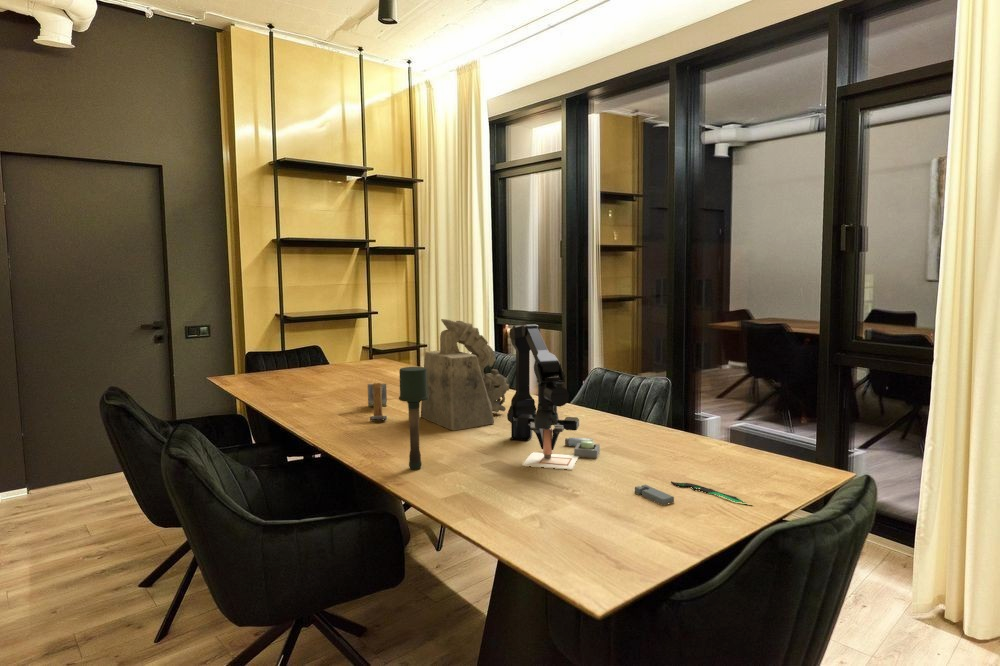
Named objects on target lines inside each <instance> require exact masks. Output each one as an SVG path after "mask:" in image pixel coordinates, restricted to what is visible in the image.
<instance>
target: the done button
mask: <svg viewBox="0 0 1000 666" xmlns="http://www.w3.org/2000/svg"><path fill="white" fill-rule="evenodd" d="M594 444H595V442H594V440H593V441H589V440H584V441H581V449H594Z"/></svg>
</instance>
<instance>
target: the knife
mask: <svg viewBox="0 0 1000 666" xmlns="http://www.w3.org/2000/svg"><path fill="white" fill-rule="evenodd" d="M670 483H671V485H672V486H674V485H676V486H675V487H677V486H679V487H678V488H681V487H687V488H688V487H692V488H693V489H694V490H693V489H692V488H691V489H692V490H693V491H695V490H700V491H699V492H701V491H703V492H702V493H704V492H706V493H705V494H707V493H710V494H709V495H712V494H716V495H718V496H719V495H720V496H723V497H725V498H727V499H730V500H732V501H735V502H742V503H747V502H745V501H744V502H743V500H742V499H741V498H738V497H737V496H735V495H731V494H730V495H729V494H726V493H723V492H720V491H716V490H715V489H713V488H708V487H706V486H701V485H698V484H695V483H689V482H674V481H672V480H671V481H670ZM696 488H700V489H696Z"/></svg>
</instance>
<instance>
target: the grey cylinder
mask: <svg viewBox="0 0 1000 666" xmlns="http://www.w3.org/2000/svg"><path fill="white" fill-rule="evenodd" d="M584 440H589V441H593V442H594V439H592V438H582V437H566V438H565V440H564V444H565V446H569V445H570V446H569V447H576V445H577V444H578V443H581V441H584Z"/></svg>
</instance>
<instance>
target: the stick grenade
mask: <svg viewBox="0 0 1000 666" xmlns="http://www.w3.org/2000/svg"><path fill="white" fill-rule="evenodd" d="M427 399H428V395H427V369H426V368H424V366H404V367H402V368H400V369H399V396H398V400H399V401H401V402H406V403H407V407H408V421H409V443H410V444H409V447H410V449H409V454H408V455H409V456H408V457H409V459H408V461H409V462H408V467H409V469H410V470H412V469H413V470H412V471H416V470H415V469H418V470H421V467H422V456H421V455H422V454H421V451H420V418H421V414H420V408H421V406H420V405H421V402H422V401H423V400H427Z"/></svg>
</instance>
